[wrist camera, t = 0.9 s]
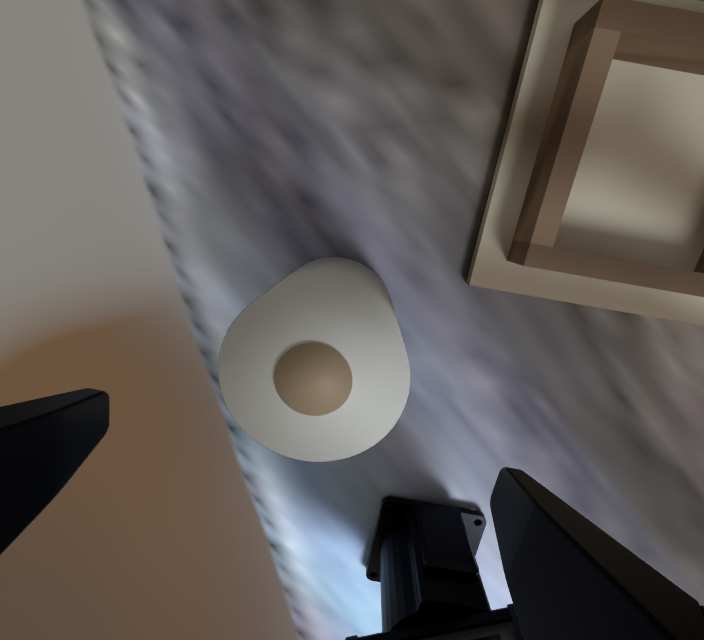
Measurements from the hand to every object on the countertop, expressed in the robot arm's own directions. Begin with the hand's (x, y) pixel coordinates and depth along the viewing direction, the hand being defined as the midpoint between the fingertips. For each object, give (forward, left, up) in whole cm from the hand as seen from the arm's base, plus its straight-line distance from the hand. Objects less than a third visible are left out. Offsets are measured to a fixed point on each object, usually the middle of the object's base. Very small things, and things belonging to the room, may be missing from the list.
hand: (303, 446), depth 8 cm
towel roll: (0, 0, -12) cm, 12 cm away
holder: (+9, -13, -12) cm, 20 cm away
